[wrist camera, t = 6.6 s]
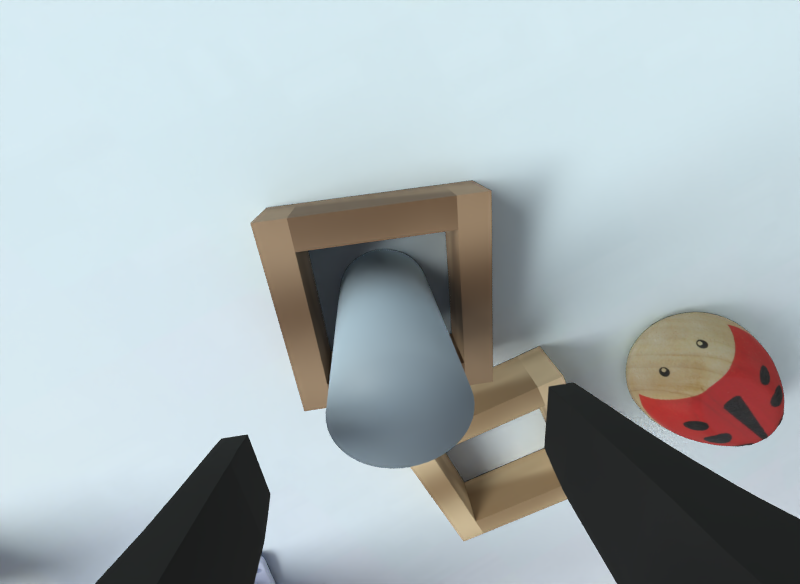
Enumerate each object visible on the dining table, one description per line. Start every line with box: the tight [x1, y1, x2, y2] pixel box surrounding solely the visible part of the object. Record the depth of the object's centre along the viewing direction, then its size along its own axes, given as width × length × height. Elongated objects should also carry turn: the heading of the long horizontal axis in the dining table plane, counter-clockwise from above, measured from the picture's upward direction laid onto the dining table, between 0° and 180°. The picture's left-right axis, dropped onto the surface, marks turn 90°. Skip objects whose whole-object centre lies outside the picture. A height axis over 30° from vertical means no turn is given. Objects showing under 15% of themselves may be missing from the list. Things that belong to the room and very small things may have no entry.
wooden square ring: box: [251, 181, 493, 411], centre depth 16 cm, size 8×8×2 cm
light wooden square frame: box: [411, 346, 568, 541], centre depth 21 cm, size 8×8×2 cm
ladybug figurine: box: [626, 312, 784, 446], centre depth 20 cm, size 7×10×4 cm
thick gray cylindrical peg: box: [326, 249, 475, 468], centre depth 14 cm, size 4×4×8 cm
